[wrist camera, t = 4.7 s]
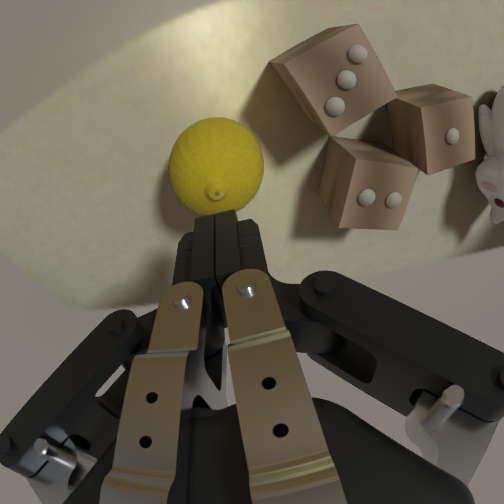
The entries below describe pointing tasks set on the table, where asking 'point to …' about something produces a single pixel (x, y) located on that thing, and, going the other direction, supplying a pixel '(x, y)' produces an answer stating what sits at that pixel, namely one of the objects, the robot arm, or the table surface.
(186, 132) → the lemon
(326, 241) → the table surface
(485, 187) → the cat figurine
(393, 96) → the block three dots
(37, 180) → the table surface
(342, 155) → the block two dots
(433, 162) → the block one dot
